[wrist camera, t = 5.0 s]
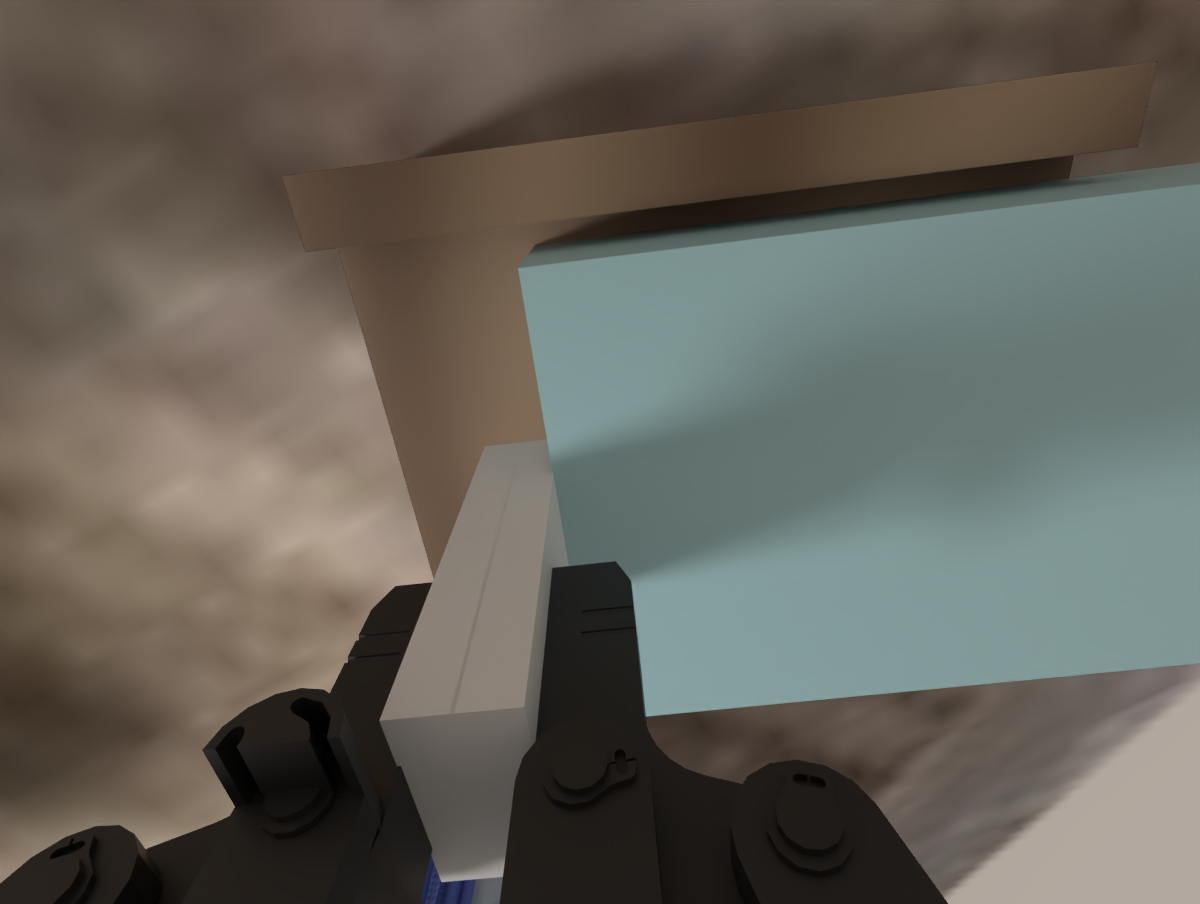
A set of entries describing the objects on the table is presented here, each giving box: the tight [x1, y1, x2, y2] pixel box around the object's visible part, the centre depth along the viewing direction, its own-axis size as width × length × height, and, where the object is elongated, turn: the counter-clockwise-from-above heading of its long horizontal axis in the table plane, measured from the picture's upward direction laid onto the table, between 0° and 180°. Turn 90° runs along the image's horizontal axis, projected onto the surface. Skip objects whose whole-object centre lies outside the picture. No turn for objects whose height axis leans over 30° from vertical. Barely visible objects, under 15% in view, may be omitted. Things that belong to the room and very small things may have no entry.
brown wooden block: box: [282, 61, 1158, 578], centre depth 15 cm, size 14×13×5 cm
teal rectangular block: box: [518, 162, 1200, 717], centre depth 12 cm, size 14×10×3 cm
